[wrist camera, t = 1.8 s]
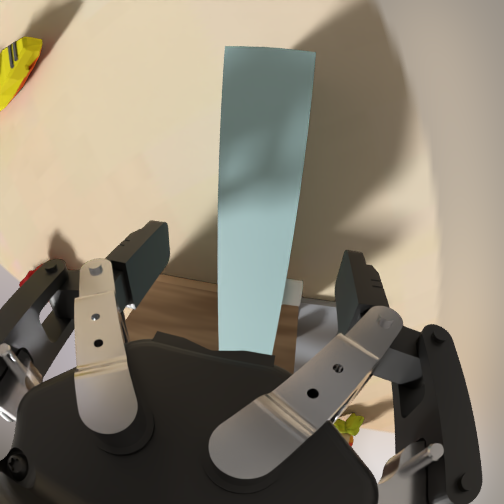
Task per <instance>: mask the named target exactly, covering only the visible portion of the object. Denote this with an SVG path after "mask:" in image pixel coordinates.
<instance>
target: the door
mask: <svg viewBox="0 0 504 504" xmlns="http://www.w3.org/2000/svg"><path fill="white" fill-rule="evenodd" d="M315 58H316V52H310V51H302V50H293V49H282V48H269V47H246V46H225V54H224V69H223V85H222V103H221V124H220V150H219V184H218V334H219V351H239V350H245V351H251V352H257V353H262V354H269V355H272V352H273V347H274V342H275V337H276V332H277V326H278V321H279V316H280V310H281V305H282V304H286V305H293V306H299V305H300V302H301V297H302V290H303V281H299V280H293V279H286V277H287V271H288V265H289V259H290V253H291V247H292V241H293V235H294V228H295V222H296V215H297V209H298V202H299V195H300V188H301V181H302V174H303V166H304V159H305V151H306V143H307V135H308V126H309V118H310V109H311V99H312V90H313V80H314V69H315Z"/></svg>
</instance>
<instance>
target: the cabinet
mask: <svg viewBox="0 0 504 504" xmlns="http://www.w3.org/2000/svg"><path fill="white" fill-rule="evenodd" d="M126 325H127V329H128V334H129V338H130V342H131V341H135V340H140V339H153V337H154V336H155V334H156V332H157V331H160V332H164V333H167V334H171V335H175V336H179V337H184V338H186V339H188V340H190V341H192V342H194V343H196V344H198V345H201V346H203V347H205V348H207V349H209V350H214V351H219V334H218V284H213V283H207V282H202V281H196V280H191V279H185V278H180V277H174V276H169V275H164V274H160V275H159V276H158V278H157V279H156V281H155V282H154V284H153V285H152V286H151V288H150V289H149V291H148V292H147V294H146V295H145V296H144V298H143V299H142V301H141V302H140V304H139V305H138V307H137V308H136V309H133V310H132V311H131V313H130V315H129V316H128V318H127V319H126ZM337 335H338V322H337V310H336V302H332V301H325V300H317V299H310V298H303V297H301V302H300V305H299V306H293V305H286V304H282V305H281V310H280V316H279V321H278V326H277V332H276V337H275V342H274V347H273V352H272V355H275V361H274V365H277V366H279V367H281V368H283V369H285V370H287V371H289V372H290V373H292V374H294V373H295V372H297V371H298V370H299V369H300V368H301V367H302V366H304V365H305V364H306V363H307V362H308V361H309V360H310V359H312V358H313V357H314V356H315V355H316V354H317V353H318V352H319V351H321V350H322V349H323V348H324V347H325V346H326V345H327V344H328V343H329V342H330V341H331V340H332V339H333V338H335V337H336V336H337Z"/></svg>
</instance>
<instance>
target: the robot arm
mask: <svg viewBox="0 0 504 504" xmlns="http://www.w3.org/2000/svg"><path fill="white" fill-rule="evenodd" d="M169 257H170V247H169V233H168V225H167V223H166V222H159V221H149V222H148V223H147V224H146V225H145V226H144V227H143V228H142V229H139V230H137V231H135V232H133V233H131V234H130V235H129V236H128V237H127V238H126V239H125V240H124V241H122V242H121V243H120V245H118V246H117V247H116V248H115V249H114V250H113V251H112V252H111V253H110V254H109V255H108V256H107V257H106V258H105V259H103V258H98V259H93V260H90V261H88V262H86V263H85V264H84V265H83V266H82V267H81V269H80V270H67V267H66V264H65V262H64V261H63V260H61V259H53V260H50V261H47V262H46V263H44V264H43V265H41V266H40V267H39V268H38V269H37V270H36V271H35V272H34V273H33V274H32V275H31V276H30V277H29V278H28V280H27V281H26V282H25V283H24V284H23V285H22V286H21V287H20V288H19V289H18V290H17V291H16V292H15V293H14V294H13V295H12V297H11V298H10V299H9V300H8V301H7V302H6V303H5V304H4V306H3V307H2V308H1V309H0V415H1V416H2V417H3V418H4V419H6V420H7V421H11V422H13V421H16V427H15V434H14V439H13V443H12V447H11V450H10V451H9V453H8V454H7V456H6V457H5V458H4V459H3V460H1V461H0V504H469V503H470V502H472V501H473V500H474V499H475V498H476V497H477V495H478V494H479V492H480V489H481V486H482V470H481V460H480V453H479V445H478V438H477V432H476V427H475V421H474V416H473V411H472V407H471V402H470V398H469V394H468V390H467V386H466V382H465V378H464V375H463V372H462V368H461V364H460V361H459V358H458V355H457V352H456V349H455V346H454V342H453V340H452V337H451V336H450V334H449V333H448V332H447V331H446V330H445V329H443V328H442V327H440V326H438V325H434V324H430V325H427V326H425V327H424V329H423V330H422V332H418V331H415V330H412V329H410V328H407V327H405V326H403V321H402V318H401V317H400V315H399V314H398V313H397V312H396V311H394V310H393V309H391V308H389V304H388V301H387V298H386V295H385V291H384V289H383V285H382V282H381V279H380V276H379V273H378V272H377V271H376V270H375V268H374V267H373V266H372V265H366V262H365V259H364V256H363V253H362V252H356V251H350V250H346V251H345V252H344V255H343V259H342V262H341V266H340V269H339V273H338V276H337V279H336V284H335V300H336V310H337V322H338V335H337V336H336V337H335V338H333V339H332V340H331V341H330V342H329V343H328V344H327V345H326V346H325V347H324V348H323V349H322V350H321V351H319V352H318V353H317V354H316V355H315V356H314V357H313V358H312V359H310V360H309V361H308V362H307V363H306V364H305V365H304V366H302V367H301V368H300V369H299V370H298V371H297V372H295V373H294V374H292V373H290V372H289V371H287V370H285V369H283V368H281V367H279V366H277V365H274V361H275V355H269V354H262V353H257V352H251V351H245V350H239V351H214V350H209V349H207V348H205V347H203V346H201V345H198V344H196V343H194V342H192V341H190V340H188V339H186V338H184V337H179V336H175V335H171V334H167V333H164V332H160V331H157V332H156V334H155V336H154V337H153V339H140V340H135V341H131V342H130V338H129V334H128V329H127V325H126V320H125V316H124V312H123V310H124V308H125V307H128V308H132V309H136V308H137V307H138V305H139V304H140V302H141V301H142V299H143V298H144V296H145V295H146V294H147V292H148V291H149V289H150V288H151V286H152V285H153V284H154V282H155V281H156V279H157V278H158V276H159V275H160V274H161V272H162V271H163V269H164V268H165V267H166V265H167V264H168V261H169ZM48 301H49V302H50V304H51V307H52V309H53V310H52V312H51V313H50V314H49V315H48V317H47V318H46V319H45V320H44V322H43V323H42V324H41V323H40V320H39V315H40V312H41V310H42V309H43V307H44V306H45V305H46V304H47V303H48ZM74 329H75V348H76V363H77V367H75V368H73V369H71V370H69V371H66V372H64V373H62V374H60V375H58V376H55V377H53V378H51V379H49V380H47V381H45V382H43V380H42V379H43V377H44V376H45V374H46V372H47V371H48V369H49V367H50V366H51V364H52V362H53V361H54V359H55V357H56V356H57V355H58V353H59V351H60V350H61V348H62V347H63V345H64V344H65V342H66V340H67V339H68V338H69V336H70V335H71V333H72V332H73V330H74ZM373 375H374V376H377V377H380V378H383V379H386V380H389V381H391V382H392V392H393V405H394V421H395V453H396V455H395V456H393V457H392V458H390V459H389V460H388V462H387V463H386V464H385V466H384V469H383V474H382V477H381V480H380V481H379V483H378V484H377V482H376V479H375V477H374V475H373V474H372V472H371V471H370V470H369V468H368V467H367V466H366V465H365V464H364V462H363V461H362V460H361V459H360V457H359V456H358V455H357V454H356V452H355V451H354V450H353V448H352V447H351V446H350V445H349V443H348V442H347V441H346V440H345V438H344V437H343V436H342V434H341V433H340V432H339V431H338V429H337V428H336V427H335V425H334V423H335V421H336V420H337V419H338V418H339V417H340V416H341V414H342V413H343V412H344V411H345V409H346V408H347V407H348V406H349V405H350V403H351V402H352V401H353V400H354V399H355V397H356V396H357V395H358V394H359V393H360V391H361V390H362V389H363V388H364V386H365V385H366V384H367V383H368V381H369V380H370V379H371V377H372V376H373Z"/></svg>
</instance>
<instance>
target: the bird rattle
mask: <svg viewBox="0 0 504 504" xmlns="http://www.w3.org/2000/svg"><path fill="white" fill-rule="evenodd" d="M363 421H364V417H363V416H356V415H355V413H353V414H351V415H350V417H349V418H348V419H347V420H346V422H345V421H343V420H340V419H337V420H336V421H335V423H334V425H335V427H336V428H337V429H338V431H339V432H340V433H341V434H342V436H343V437H344V438H345V440H346V441H347V442H348V443H349V445H350V446H352V445H353V436H355V435H357V433H358V432H359V427H360V426H361V425H362V423H363ZM352 435H353V436H352Z"/></svg>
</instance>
